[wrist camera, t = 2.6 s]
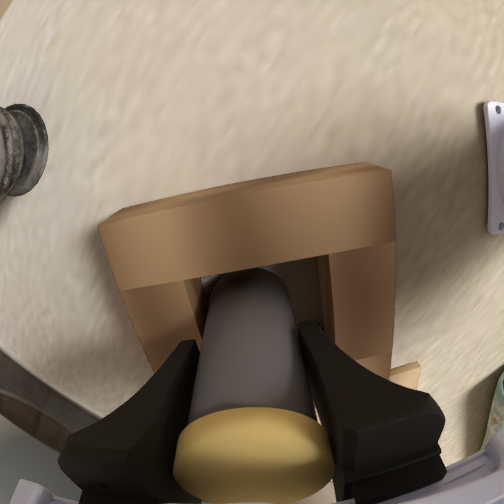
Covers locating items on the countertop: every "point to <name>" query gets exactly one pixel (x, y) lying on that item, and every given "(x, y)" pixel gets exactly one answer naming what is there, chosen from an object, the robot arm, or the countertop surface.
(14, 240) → the countertop surface
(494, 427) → the towel
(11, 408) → the countertop surface
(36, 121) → the salt shaker
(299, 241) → the wooden square frame
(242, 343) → the plug
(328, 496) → the coffee cup
